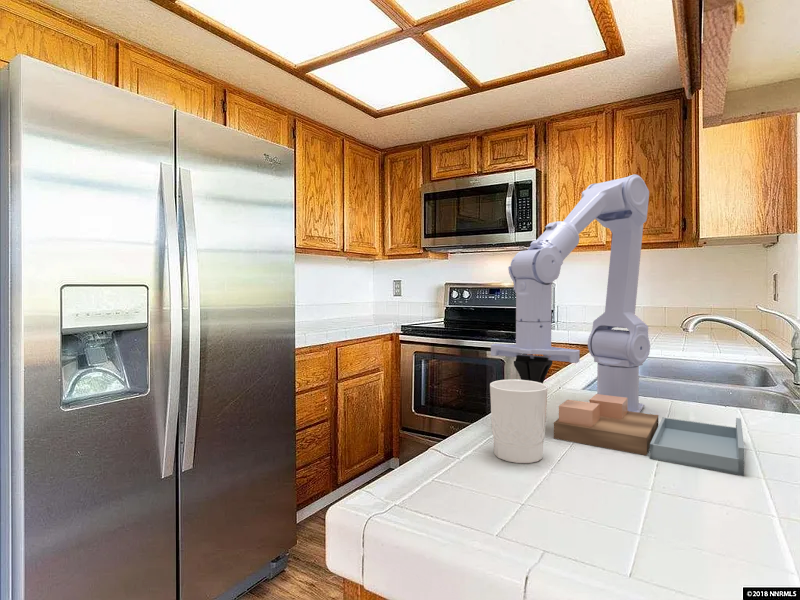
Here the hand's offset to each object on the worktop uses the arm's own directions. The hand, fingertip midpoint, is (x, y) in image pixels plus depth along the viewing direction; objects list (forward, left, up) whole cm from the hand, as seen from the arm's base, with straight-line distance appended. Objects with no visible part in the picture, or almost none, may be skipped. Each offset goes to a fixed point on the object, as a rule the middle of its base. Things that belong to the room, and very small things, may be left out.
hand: (532, 401), depth 78 cm
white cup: (+13, +3, -5) cm, 14 cm away
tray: (-4, +23, -5) cm, 24 cm away
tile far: (-7, +11, -2) cm, 13 cm away
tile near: (0, +8, -2) cm, 8 cm away
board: (-4, +11, -5) cm, 12 cm away
